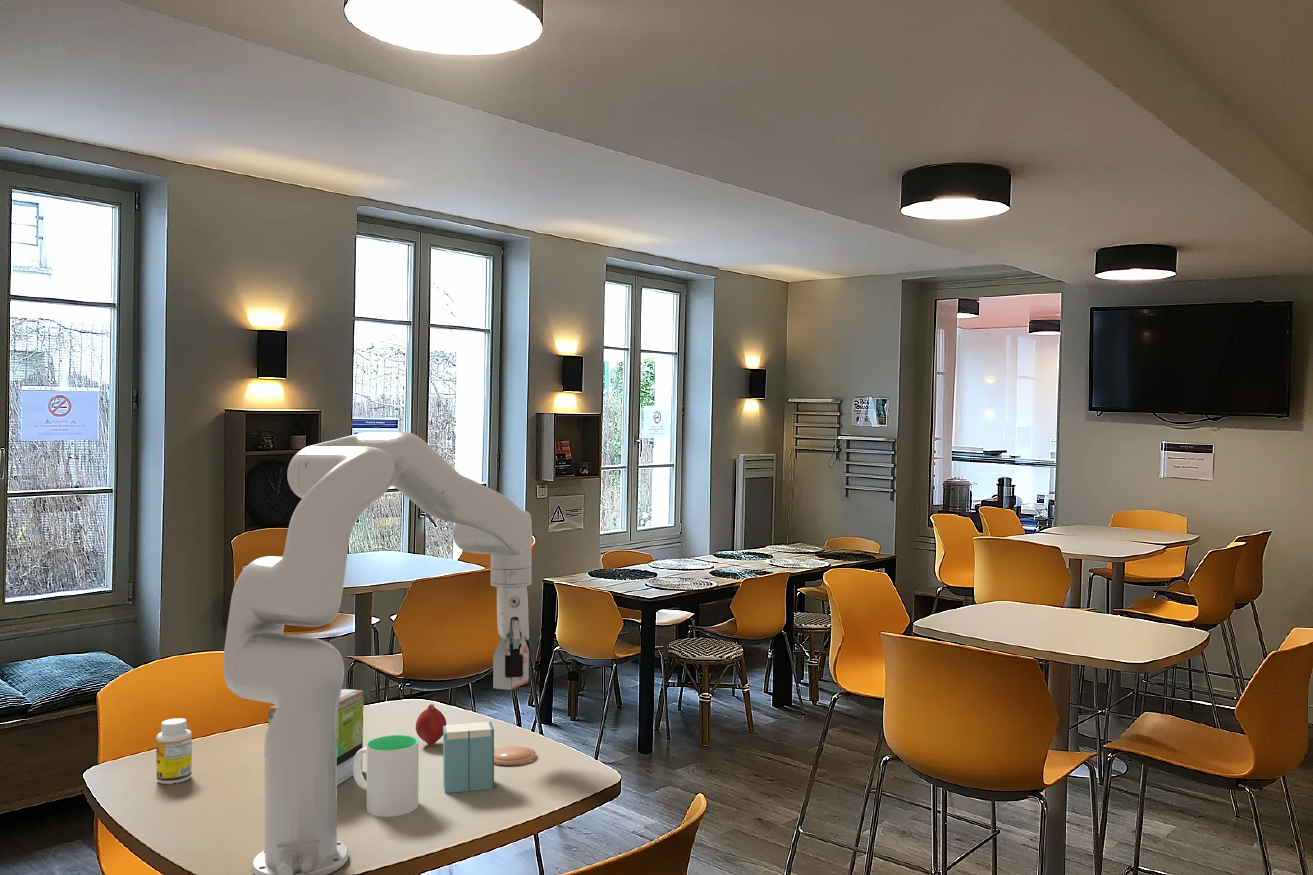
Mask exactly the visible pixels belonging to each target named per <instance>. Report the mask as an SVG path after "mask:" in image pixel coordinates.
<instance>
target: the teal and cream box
mask: <svg viewBox="0 0 1313 875" xmlns="http://www.w3.org/2000/svg"><path fill="white" fill-rule="evenodd" d="M442 737H443V738H442V752H443V753H442V756H443V758H442V762H443V763H442V768H443V770H442V776H443V778H442V779H443V780H442V786H443V790H444V794H448V793H449V794H450V793H461V792H470V791H471V792H472V791H483V790H492V789H495V765H494V750H495V728H494V725H493V722H492V721H489V722H488V721H482V722H470V723H469V722H467V723H458V724H457V723H455V724H446V726H443V736H442Z"/></svg>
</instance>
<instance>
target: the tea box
mask: <svg viewBox="0 0 1313 875" xmlns="http://www.w3.org/2000/svg"><path fill="white" fill-rule="evenodd" d="M364 697H365V696H364V690H363V689H362V690H361V689H349V688H348V689H347V688H342V689H341V694H340V699H339V705H338V714H337V786H338V785H340V784H342V783H343V782H346V781H347V780H348V779H350V778H351V777H354V775H353V760H354V756H355V754H356V753H357V752H358V751H359V750H360V749H362V748H364V745H363V744H364ZM276 709H277V704H273V705H272V706H270V707H269V708H268V715H267V716H268V723H267V724H268V725H267V728H268V727H269V725H270V722H271V720H272V719H273V717H274V714H275V712H276ZM363 762H364V761H363V755H362V758H361V771H362V770H363Z"/></svg>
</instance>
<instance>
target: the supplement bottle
mask: <svg viewBox="0 0 1313 875" xmlns="http://www.w3.org/2000/svg"><path fill="white" fill-rule="evenodd" d="M160 727H161V728H160V729H161V730H160V731H161V732H158V734H157V735H156V737H155V739H156V741H155V745H156V746H155V747H156V749H155V750H156V751H155V752H156V756H155V757H156V758H155V759H156V762H155V763H156V764H155V765H156V766H155V767H156V781H157V782H158V783H159V784H161V785H162V784H163V785H174V783H176V784H180V783H183V782H186V781H188V780H189V779H191V777H192V774H193V771H192V770H193V768H192V767H193V762H192V761H193V755H192V754H193V753H192V751H193V750H192V749H193V747H192V746H193V744H192V743H193V740H192V739H193V738H192V736H193V735H192V734H193V733H192V731H191V730H190V729H187V728H188V725H187V719H186V718H184V717H183V718H182V717H181V718H180V717H179V718H169V719H166V720H163V721H162V722H161V726H160Z"/></svg>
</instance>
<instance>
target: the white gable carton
mask: <svg viewBox="0 0 1313 875" xmlns="http://www.w3.org/2000/svg"><path fill="white" fill-rule="evenodd" d="M508 638H512V637H508ZM521 639H522V654H523V676H522V677H511V678H506V676H505V655H507V652H506V641H504V640H503V639H502V635H501V636H500V639H499V642H498V645H497V646H496V649H495V651H494V653H493V655H492V657H493V658H492V666H493V667H492V669H493V670H492V676H493V678H492V681H493V682H492V684H493V685H492V688H493V689H498V690H508V691H512V690H514V689H516V688H519V687H520V686H523V685H524V684H526V683H528V682H529V681H530V680H529V678H530V676H529V675H530V674H529V673H530V672H529V671H530V670H529V668H530V666H529V664H530V663H529V662H530V661H529V660H530V659H529V658H530V656H529V655H530V650H529V647H528V645H527V642H526V640H525V639H524V638H523V637H522V636H521ZM510 644H511V643H510Z"/></svg>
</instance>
